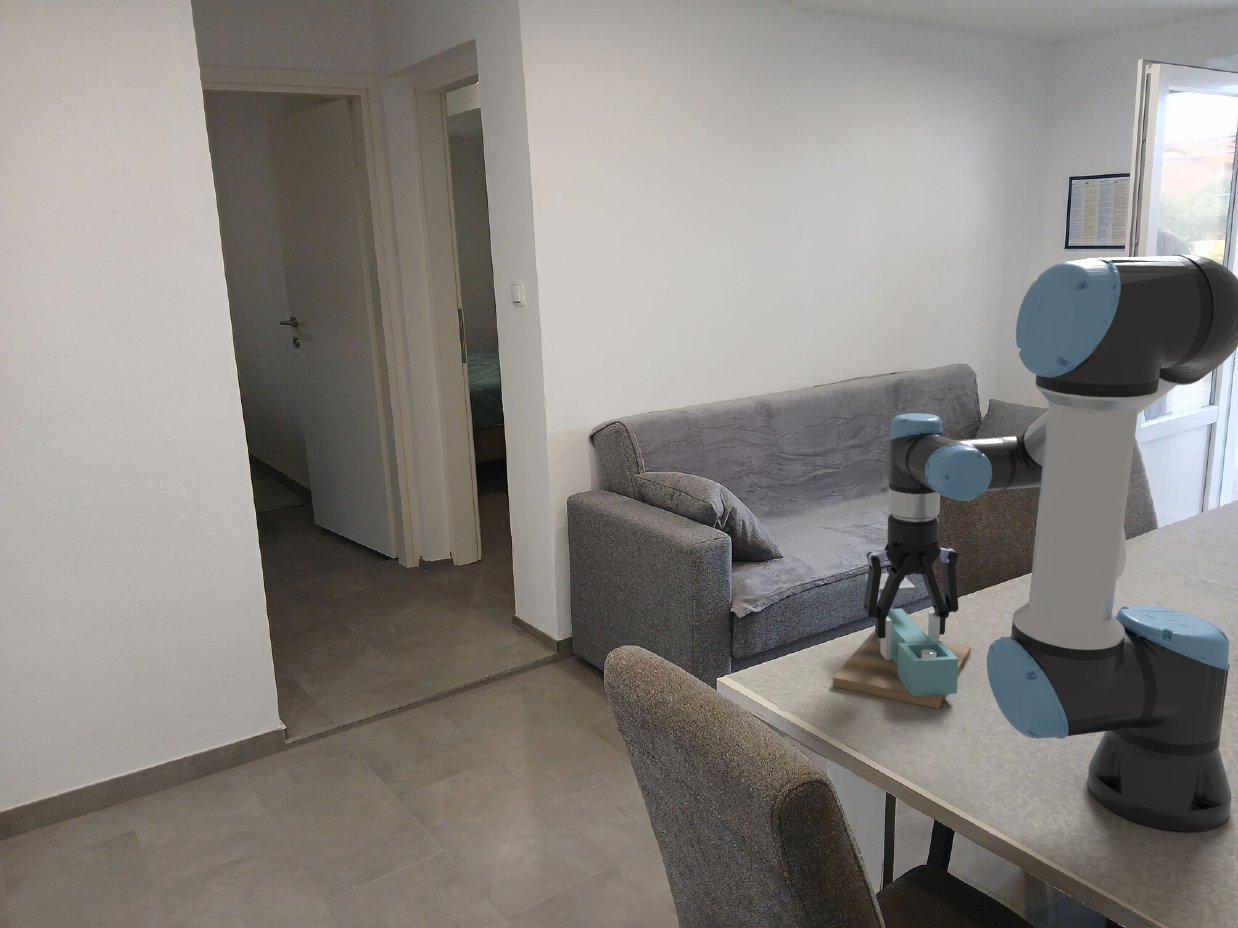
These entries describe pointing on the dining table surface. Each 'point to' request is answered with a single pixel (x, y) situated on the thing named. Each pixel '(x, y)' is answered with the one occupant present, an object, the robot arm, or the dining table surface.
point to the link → (918, 671)
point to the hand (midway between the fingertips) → (909, 654)
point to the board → (887, 674)
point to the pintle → (928, 653)
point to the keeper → (903, 588)
